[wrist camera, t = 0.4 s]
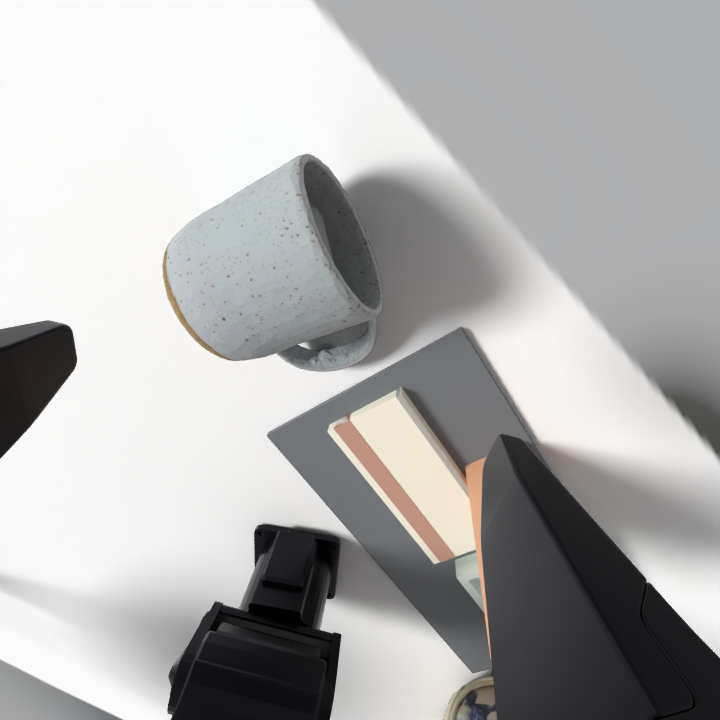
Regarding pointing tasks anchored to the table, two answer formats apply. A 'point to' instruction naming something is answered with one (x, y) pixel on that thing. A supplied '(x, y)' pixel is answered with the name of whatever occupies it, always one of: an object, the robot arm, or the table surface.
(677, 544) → the table surface
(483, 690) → the pencil case
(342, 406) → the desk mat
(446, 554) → the strip
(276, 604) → the robot arm
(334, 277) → the ceramic mug
